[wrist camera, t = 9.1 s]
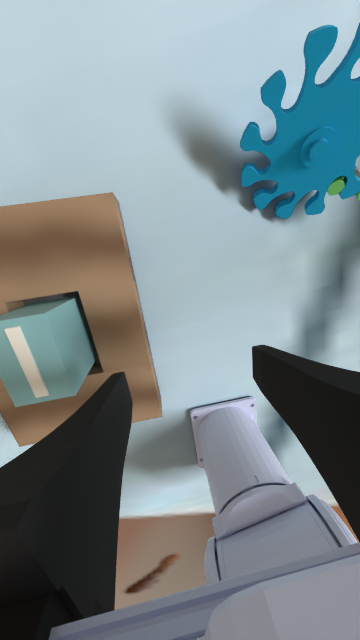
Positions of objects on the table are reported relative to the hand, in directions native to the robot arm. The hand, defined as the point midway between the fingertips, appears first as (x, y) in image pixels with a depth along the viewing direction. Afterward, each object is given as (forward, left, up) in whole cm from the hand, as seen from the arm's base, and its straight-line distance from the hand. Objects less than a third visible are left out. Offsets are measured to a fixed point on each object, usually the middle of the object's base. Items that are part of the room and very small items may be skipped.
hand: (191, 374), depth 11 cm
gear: (+12, -12, -10) cm, 19 cm away
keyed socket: (+1, +10, -9) cm, 14 cm away
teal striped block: (+1, +10, -9) cm, 13 cm away
